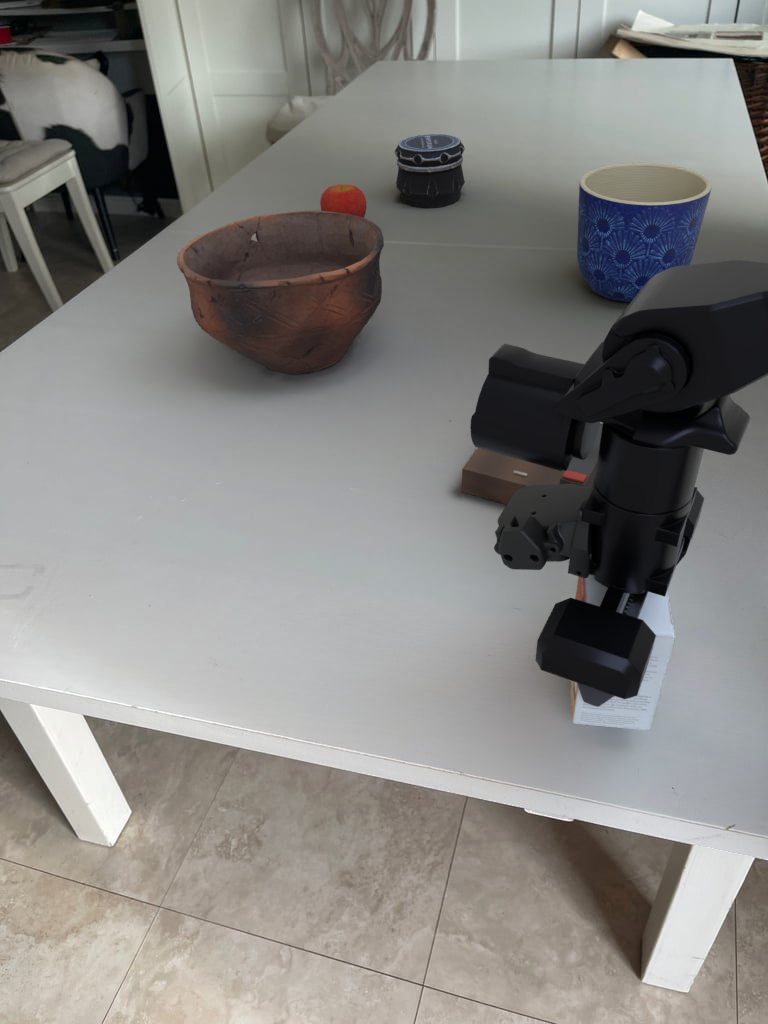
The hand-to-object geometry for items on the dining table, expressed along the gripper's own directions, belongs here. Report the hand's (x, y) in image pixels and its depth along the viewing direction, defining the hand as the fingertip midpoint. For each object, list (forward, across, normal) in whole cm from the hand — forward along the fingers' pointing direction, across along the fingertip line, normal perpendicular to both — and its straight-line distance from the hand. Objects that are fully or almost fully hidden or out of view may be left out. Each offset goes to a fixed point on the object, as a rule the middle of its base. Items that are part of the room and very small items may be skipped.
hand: (610, 655), depth 58 cm
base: (+5, -23, -11) cm, 26 cm away
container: (+5, -99, -61) cm, 117 cm away
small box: (+4, 0, 0) cm, 4 cm away
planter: (+6, -73, -17) cm, 75 cm away
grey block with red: (+2, -21, -8) cm, 23 cm away
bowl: (+5, -38, -52) cm, 65 cm away
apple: (+5, -79, -68) cm, 105 cm away
